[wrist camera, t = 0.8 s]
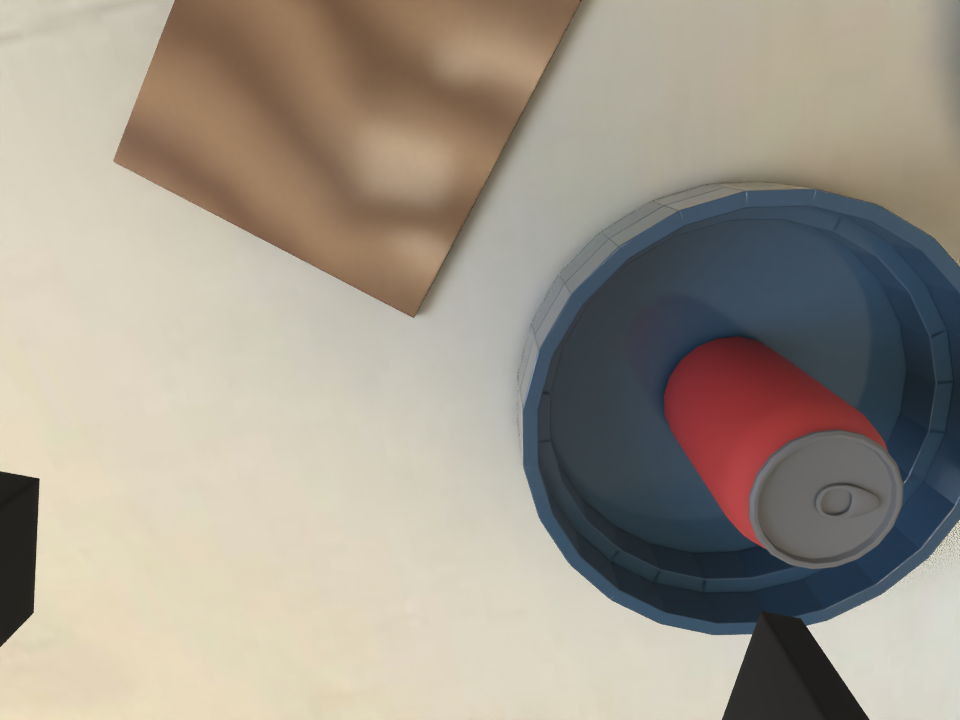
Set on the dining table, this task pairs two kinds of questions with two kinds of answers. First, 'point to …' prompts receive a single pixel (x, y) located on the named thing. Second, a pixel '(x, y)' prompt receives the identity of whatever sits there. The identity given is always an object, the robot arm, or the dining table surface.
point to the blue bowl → (753, 315)
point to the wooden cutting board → (341, 122)
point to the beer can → (783, 454)
